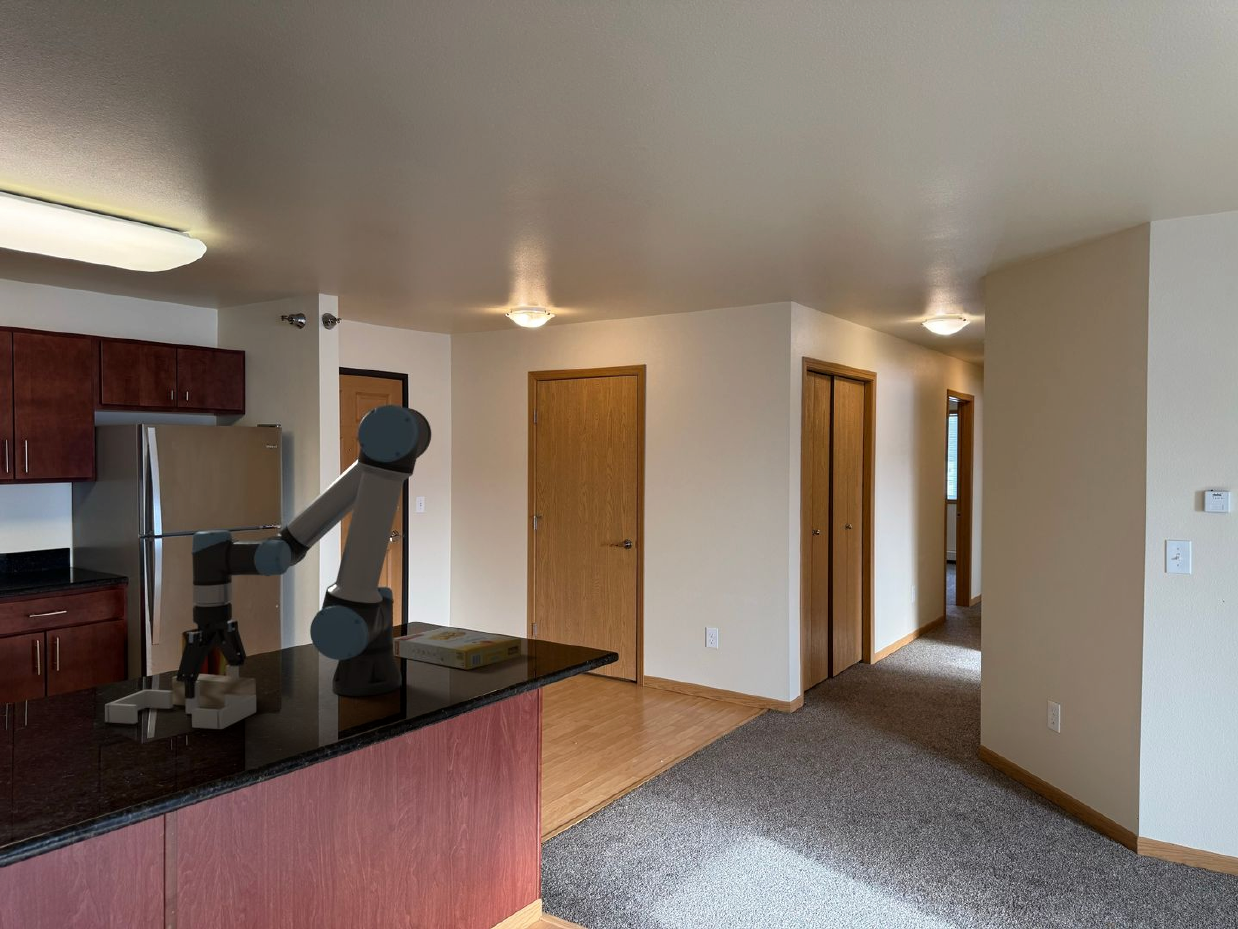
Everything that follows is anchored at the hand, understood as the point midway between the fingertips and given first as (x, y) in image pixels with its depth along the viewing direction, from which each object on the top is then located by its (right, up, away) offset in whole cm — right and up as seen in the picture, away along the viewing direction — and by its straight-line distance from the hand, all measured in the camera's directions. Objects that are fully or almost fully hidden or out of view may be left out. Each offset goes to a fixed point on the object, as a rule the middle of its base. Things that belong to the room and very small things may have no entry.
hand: (213, 704), depth 179 cm
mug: (-9, 0, +17) cm, 19 cm away
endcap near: (+7, 0, -10) cm, 12 cm away
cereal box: (+44, 0, +43) cm, 61 cm away
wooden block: (0, 0, 0) cm, 0 cm away
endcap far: (-12, 0, -6) cm, 13 cm away
